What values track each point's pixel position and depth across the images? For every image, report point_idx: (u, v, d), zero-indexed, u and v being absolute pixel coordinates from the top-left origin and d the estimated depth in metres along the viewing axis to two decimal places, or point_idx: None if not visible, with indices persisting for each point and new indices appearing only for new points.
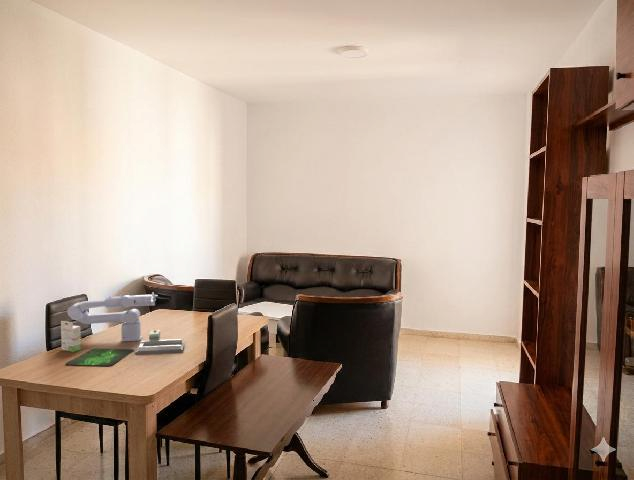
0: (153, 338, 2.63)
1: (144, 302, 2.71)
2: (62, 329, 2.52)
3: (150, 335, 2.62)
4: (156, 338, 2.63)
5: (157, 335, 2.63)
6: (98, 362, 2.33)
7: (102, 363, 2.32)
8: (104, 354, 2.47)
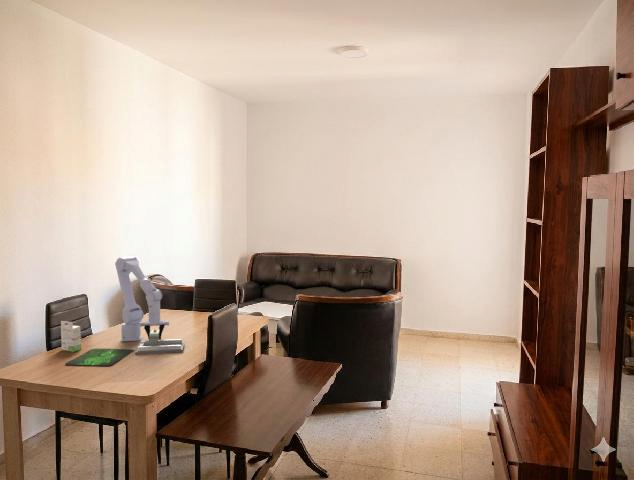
0: (153, 338, 2.63)
1: None
2: (62, 329, 2.52)
3: (150, 335, 2.62)
4: (156, 338, 2.63)
5: (157, 335, 2.63)
6: (98, 362, 2.33)
7: (102, 363, 2.32)
8: (104, 354, 2.47)
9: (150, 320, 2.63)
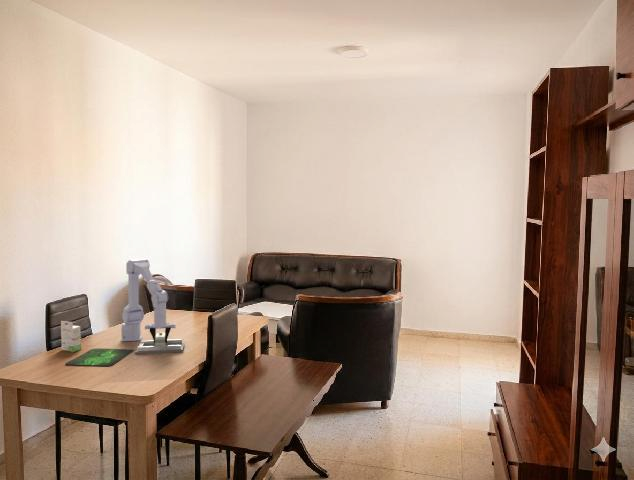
0: (159, 341, 2.52)
1: None
2: (62, 329, 2.52)
3: (156, 338, 2.51)
4: (162, 341, 2.52)
5: (163, 338, 2.52)
6: (98, 362, 2.33)
7: (102, 363, 2.32)
8: (104, 354, 2.47)
9: (156, 323, 2.52)
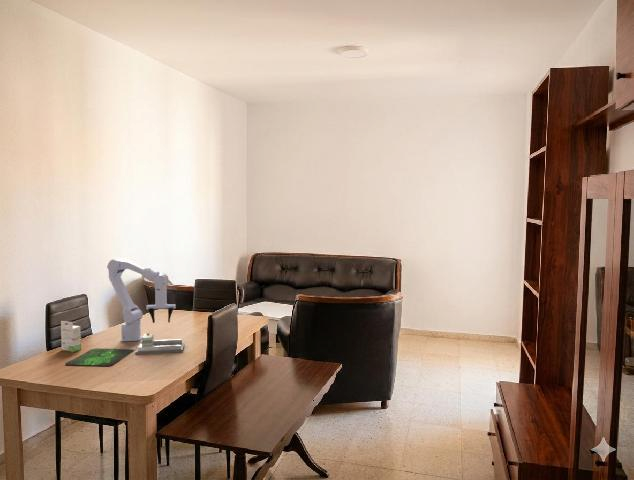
0: (146, 342, 2.51)
1: None
2: (62, 329, 2.52)
3: (143, 339, 2.50)
4: (149, 342, 2.51)
5: (150, 339, 2.51)
6: (98, 362, 2.33)
7: (102, 363, 2.32)
8: (104, 354, 2.47)
9: (157, 303, 2.67)
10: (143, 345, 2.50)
